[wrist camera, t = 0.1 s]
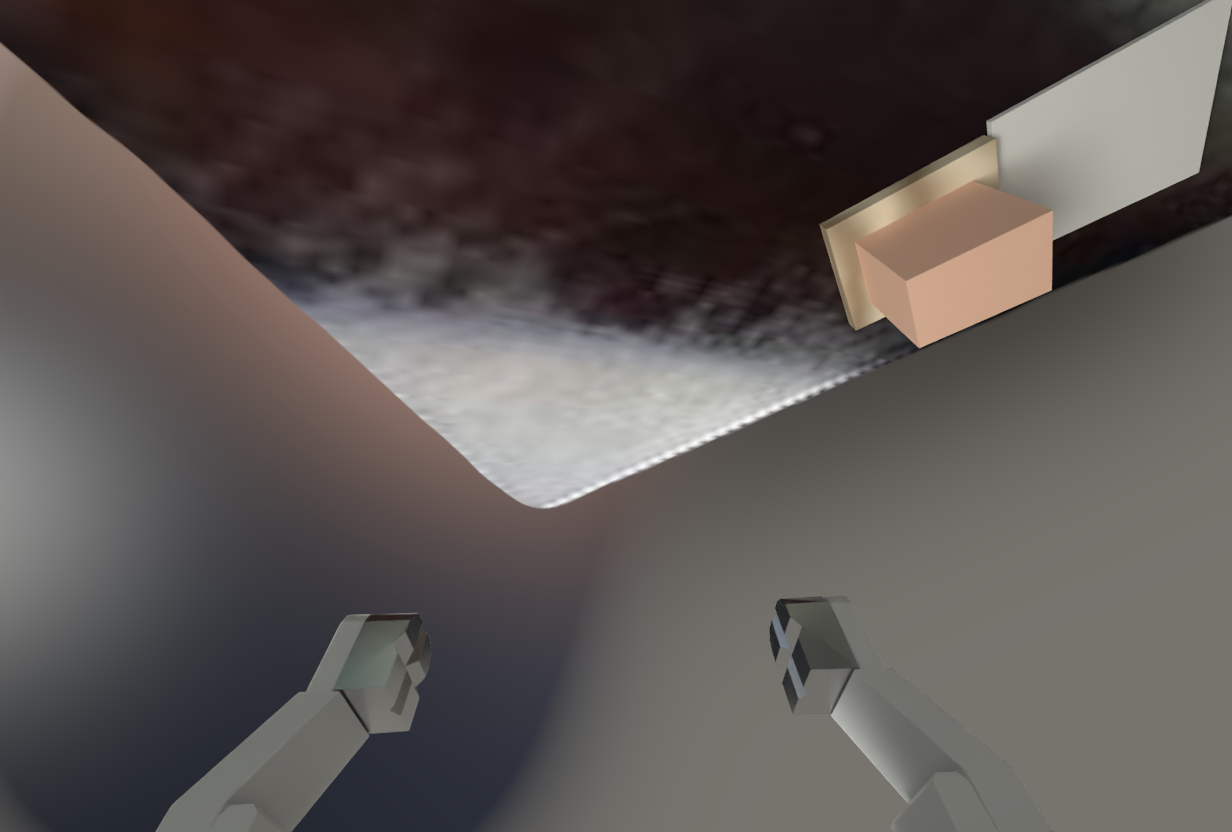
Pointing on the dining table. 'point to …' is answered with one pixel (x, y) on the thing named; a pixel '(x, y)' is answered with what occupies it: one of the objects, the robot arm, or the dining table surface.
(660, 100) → the dining table surface
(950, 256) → the coral block
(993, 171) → the board
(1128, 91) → the grey mat
